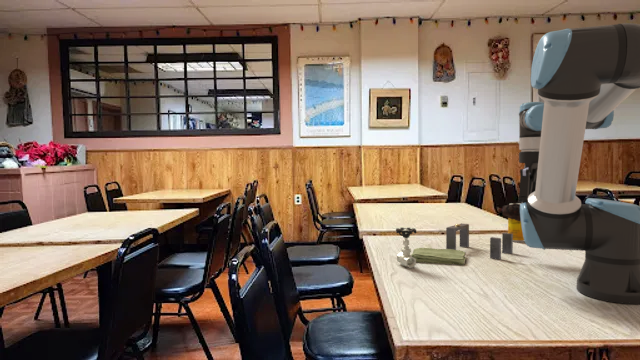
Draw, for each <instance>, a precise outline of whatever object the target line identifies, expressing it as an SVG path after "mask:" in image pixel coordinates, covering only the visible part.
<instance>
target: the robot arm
mask: <svg viewBox="0 0 640 360" xmlns="http://www.w3.org/2000/svg"><path fill="white" fill-rule="evenodd" d="M530 73H531V74H530V84H531V87H532V88H533V89H535V90H537V97H539V98H540V99H541V100H542V101H543V102H542V101H531V102H524V103H522V104H520V106H519V112H518V117H519V119H518V123H519V125H518V126H519V131H518V132H519V139H518V141H517V144H518V149H519V153H518V162H519V164H520V163H521V164H524V166H523V168H521V169H520V170H519V174H520V180H519V191H518V192H519V195H518V202H521V203H520V218H521V226H522V232H523V237H524V241H523V242H524V243H525V245H526V246H527V247H528V248H533V249H542V250H544V251H545V250H565V251H584V252H585V253H584V262H583V264H582V266H581V269H580V271H579V273H578V276H577V278H576V290H577V292H579V293H580V294H583V295H584V296H587V297H590V298H593V299H596V300H599V301H605V302H610V303H617V304H627V305H628V304H629V305H640V205H637V204H636V203H635V204H634V203H630V202H623V201H617V200H611V199H602V198H593V197H588V198H586V200H585V202H584V203H585V204H583V203H582V200H581V199H580V198H579V197H578V196H577V195H576V192H577V185H578V180H579V173H580V167H581V160H582V153H583V148H584V141H585V140H584V139H585V133H586V130H598V129H607V128H609V127H610V126H612V122H613V121H614V115H615V114H614V113H615V112H614V111H615V109H616V108H618V107H619V105H620V104H622V103H623V102H624V101H625V100H626V99H627V98H628V97H629V96H630V95H632V93H634V92H635V91H636V90H638V89H640V24H639V23H633V22H632V23H631V22H623V23H617V24H615V23H614V24H608V25H607V24H605V25H595V26H585V27H584V26H583V27H572V28H569V27H568V28H565V29H559V30H553V31H549V32H546V33H545V34H544V35H543V36H542V37H541V38H540V39H539V41H538V43H537V46H536V48H535V51H534V55H533V59H532V63H531V71H530Z"/></svg>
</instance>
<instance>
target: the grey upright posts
mask: <svg viewBox="0 0 640 360" xmlns="http://www.w3.org/2000/svg"><path fill="white" fill-rule="evenodd" d="M445 230H446V231H445V234H446V235H445V239H446V240H445V241H446V242H445V245H446V246H445V247H446V248H445V249H454V250H457V232H459V247H462V248H469V247H470V224H469V223H456V224H454V225H451V226H447V227H446V229H445ZM501 234H502V235H501V237H502V238H501V237H494V236H491V237H490V239H489V243H490V244H489V257H490V258H489V259H491V260H492V259H493V260H498V261H499V260H501V259H502V253H503V254H509V255H512V254H513V253H514V252H513V248H514V247H513V244H514V243H513V234H511V233H508V232H503V233H501Z"/></svg>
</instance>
